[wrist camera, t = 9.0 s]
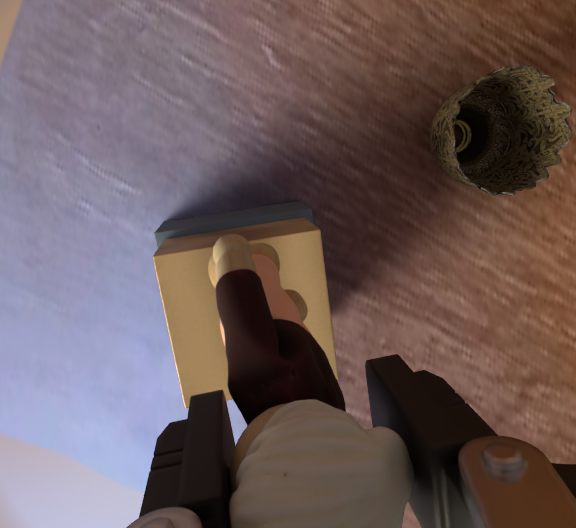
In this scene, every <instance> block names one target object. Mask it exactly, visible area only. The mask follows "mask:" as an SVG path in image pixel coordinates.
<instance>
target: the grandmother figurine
mask: <svg viewBox="0 0 576 528" xmlns="http://www.w3.org/2000/svg"><path fill="white" fill-rule="evenodd" d="M279 271H280V261H279V256H278V254H277V252H276V250H275V249H274V248H273V247H272V246H271V245H269V244H266V243H251V244H249V242H248V241H247V240H246V239H245V238H244V237H242V236H241V235H238V234H227V235H224V236H222V237H220V238H219V239H218V240H217V242H216V243H215V245H214V247H213V255H212V256H211V258H210V260H209V265H208V272H209V276H210V279H211V282H212V284H213V286H214V287H215V288H216V301H217V309H218V312H219V316H220V329H221V334H222V338H223V342H224V345H225V349H226V357H227V361H228V383H227V386H228V390H229V393H230V395H231V397H232V398H233V400H234V402H235V403H236V405H237V407H238V408H239V410H240V412H241V413H242V415H243V417H244V419H245V421H246V423H247V428H246V429H245V430H244V431H243V433H242V435H241V436H240V438H239V440H238V442H237V444H236V447H235V449H234V452H233V455H232V459H231V464H230V472H229V482H230V490H231V496H232V497H231V499H230V503H229V515H230V522H231V528H401V527H402V522H403V516H404V510H405V506H406V504H407V502H408V500H409V498H410V496H411V490H412V484H413V481H414V467H413V464H412V462H411V460H410V457H409V453H408V450H407V447H406V445H405V443H404V441H403V439H402V438H401V437H400V436H399V435H398V434H397V433H396V432H395V431H393V430H391V429H389V428H386V427H381V426H377V427H375V428H372V429H363V428H362V427H361V426H360V425H359V423H358V422H357V421H356V420H355V419H354V418H353V417H352V415H350V414H349V413H347V412H346V410H345V402H344V397H343V394H342V391H341V389H340V387H339V384H338V382H337V379H336V377H335V375H334V373H333V370H332V368H331V366H330V363H329V360H328V358H327V356H326V353H325V352H324V350H323V349H322V348H321V346H320V345H319V344H318V343H317V341H316V340H315V338H314V337H313V336H312V334H311V332H310V331H309V329H308V328H307V327H306V326H305V324H304V323H303V321H304V320H305V318H306V317H307V313H308V309H307V305H306V302H305V301H304V299H303V298H302V296H301V295H300V294H299V293H298V292H297V291H294V290H290V289H286V290H284V289H283V288H282V286H281V282H280V276H279Z"/></svg>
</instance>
